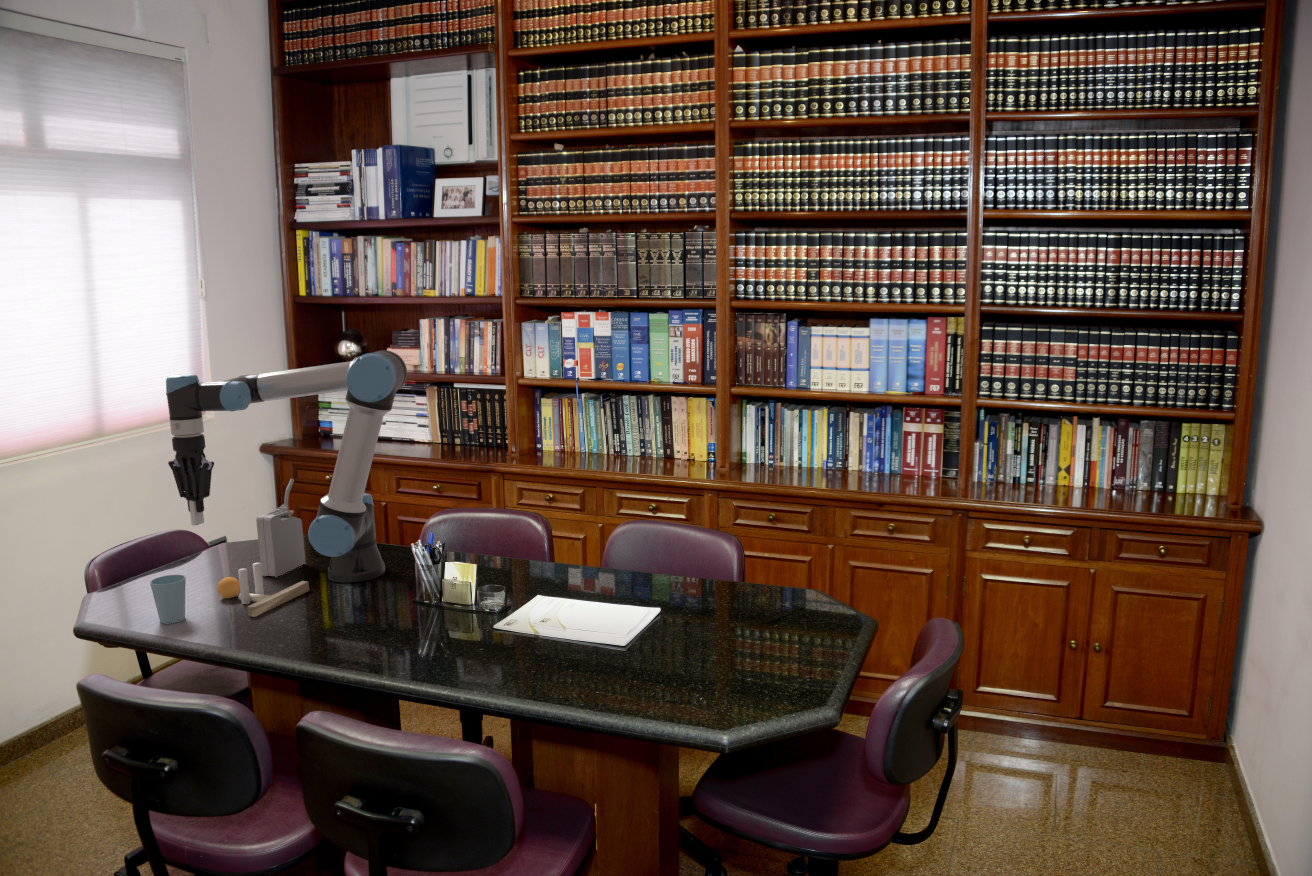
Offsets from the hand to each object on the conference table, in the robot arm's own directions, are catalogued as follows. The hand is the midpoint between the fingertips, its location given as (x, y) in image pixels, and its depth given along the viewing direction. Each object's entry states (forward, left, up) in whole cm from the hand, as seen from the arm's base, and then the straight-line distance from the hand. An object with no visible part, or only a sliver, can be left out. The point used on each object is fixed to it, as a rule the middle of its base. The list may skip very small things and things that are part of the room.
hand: (197, 523), depth 242 cm
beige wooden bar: (-24, 0, -19) cm, 31 cm away
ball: (-8, 0, -17) cm, 19 cm away
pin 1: (-15, +3, -19) cm, 25 cm away
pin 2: (-15, -2, -19) cm, 25 cm away
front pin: (-12, +1, -18) cm, 22 cm away
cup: (-6, +17, -20) cm, 27 cm away
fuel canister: (-6, -24, -20) cm, 32 cm away
